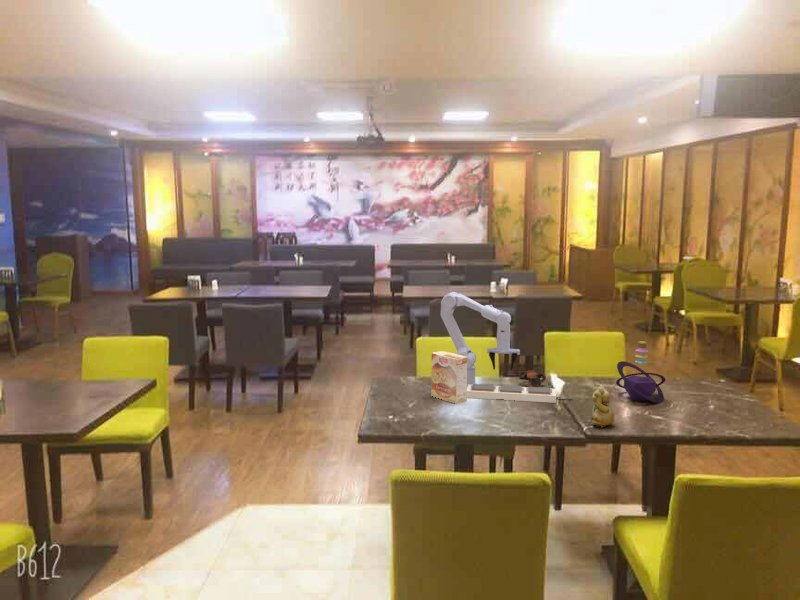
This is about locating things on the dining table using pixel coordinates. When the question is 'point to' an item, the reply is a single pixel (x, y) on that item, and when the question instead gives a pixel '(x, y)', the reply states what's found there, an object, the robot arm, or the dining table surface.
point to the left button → (483, 387)
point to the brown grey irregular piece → (532, 378)
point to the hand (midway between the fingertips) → (502, 369)
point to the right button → (539, 390)
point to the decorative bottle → (640, 379)
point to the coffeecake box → (449, 377)
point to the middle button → (511, 389)
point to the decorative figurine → (602, 408)
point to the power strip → (513, 395)
